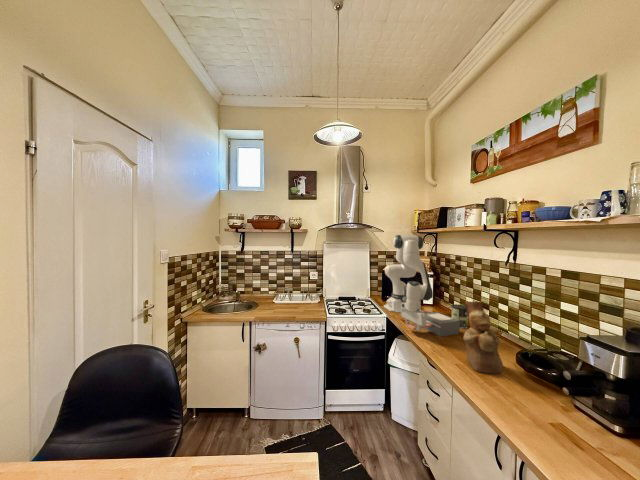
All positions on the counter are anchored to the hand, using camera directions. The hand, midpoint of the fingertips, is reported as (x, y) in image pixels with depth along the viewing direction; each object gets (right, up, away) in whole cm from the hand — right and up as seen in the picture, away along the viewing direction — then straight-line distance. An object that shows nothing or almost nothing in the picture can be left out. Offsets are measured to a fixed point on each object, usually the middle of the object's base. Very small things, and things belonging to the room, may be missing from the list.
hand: (412, 328), depth 161 cm
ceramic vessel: (+20, -5, -36) cm, 42 cm away
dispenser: (+20, -4, +7) cm, 22 cm away
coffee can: (+39, -4, +15) cm, 42 cm away
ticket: (+8, 0, +3) cm, 8 cm away
